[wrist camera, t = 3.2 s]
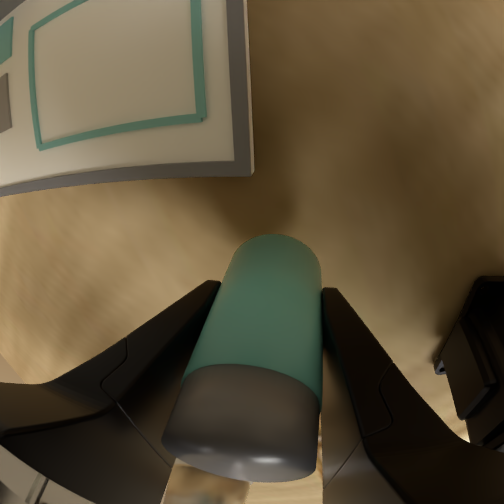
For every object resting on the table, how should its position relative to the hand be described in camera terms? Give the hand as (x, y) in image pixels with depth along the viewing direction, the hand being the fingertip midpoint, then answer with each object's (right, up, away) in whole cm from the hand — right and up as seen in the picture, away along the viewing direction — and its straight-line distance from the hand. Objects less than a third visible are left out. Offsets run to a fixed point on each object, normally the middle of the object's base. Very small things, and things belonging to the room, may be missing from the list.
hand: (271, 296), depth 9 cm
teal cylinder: (0, +1, +1) cm, 1 cm away
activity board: (-9, +11, -2) cm, 14 cm away
